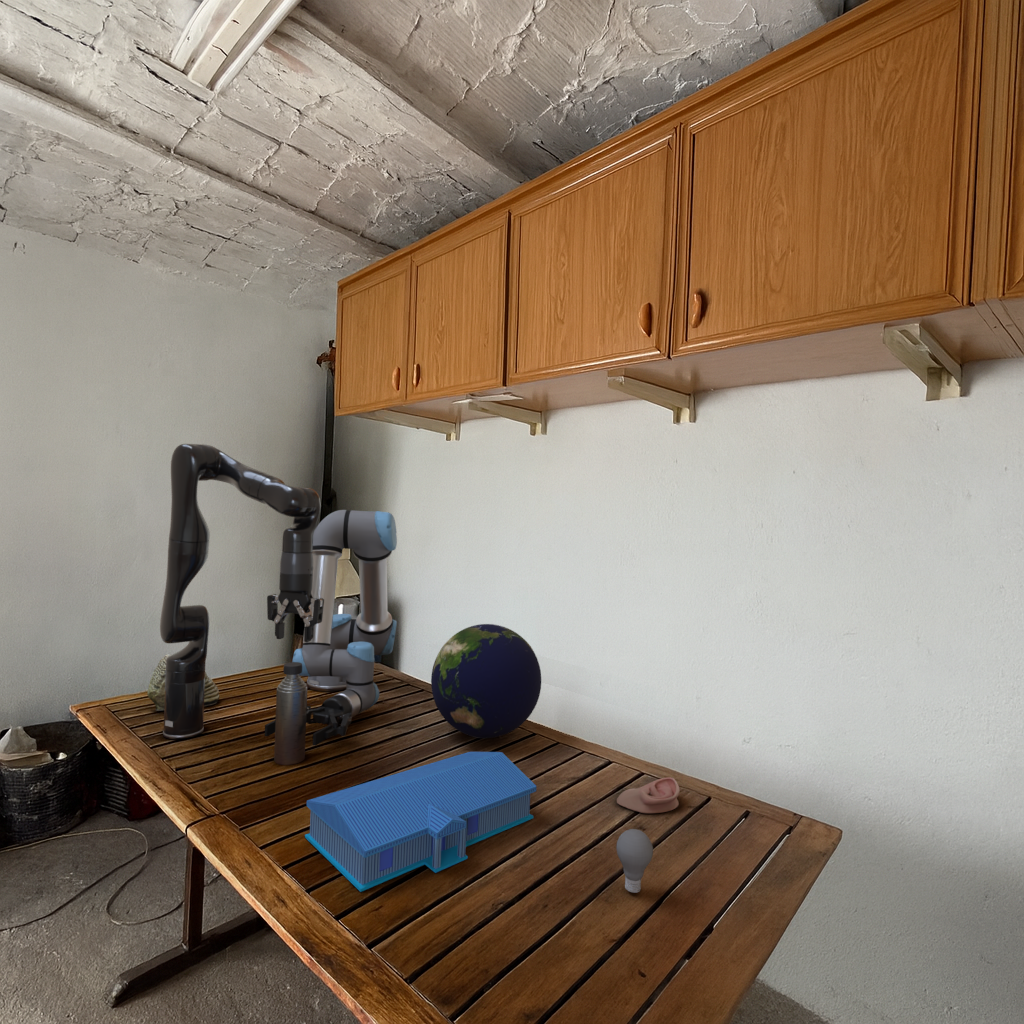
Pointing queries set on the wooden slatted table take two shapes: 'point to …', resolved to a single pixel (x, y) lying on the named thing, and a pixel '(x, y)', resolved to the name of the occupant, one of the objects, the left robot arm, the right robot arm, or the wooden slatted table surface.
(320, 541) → the right robot arm
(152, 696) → the fossil
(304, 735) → the bottle
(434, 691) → the globe
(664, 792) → the anatomical model
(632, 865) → the light bulb
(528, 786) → the model building
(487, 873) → the wooden slatted table surface
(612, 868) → the wooden slatted table surface
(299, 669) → the cap
